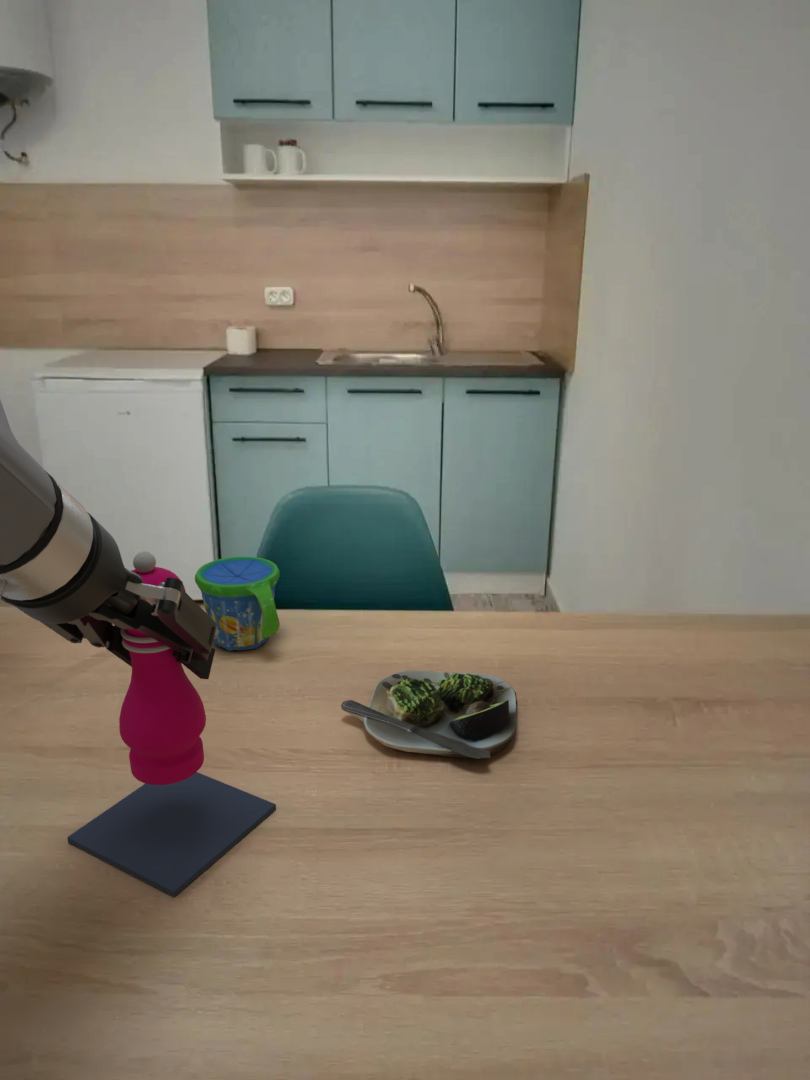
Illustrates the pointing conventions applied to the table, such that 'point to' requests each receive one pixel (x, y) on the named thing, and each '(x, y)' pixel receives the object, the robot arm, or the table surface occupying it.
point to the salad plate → (440, 713)
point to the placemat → (172, 830)
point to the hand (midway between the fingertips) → (177, 661)
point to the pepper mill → (159, 703)
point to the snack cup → (240, 600)
